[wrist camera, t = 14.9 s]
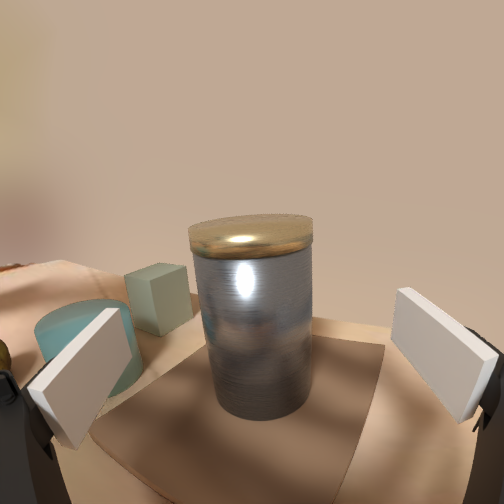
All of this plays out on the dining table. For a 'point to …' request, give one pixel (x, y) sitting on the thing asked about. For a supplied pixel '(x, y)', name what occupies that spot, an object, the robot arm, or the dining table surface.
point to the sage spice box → (159, 298)
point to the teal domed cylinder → (77, 319)
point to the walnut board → (245, 433)
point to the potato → (4, 357)
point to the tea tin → (256, 310)
